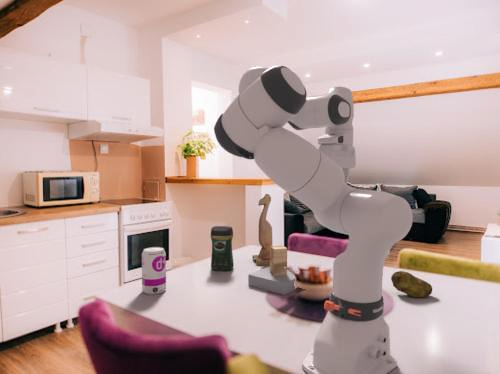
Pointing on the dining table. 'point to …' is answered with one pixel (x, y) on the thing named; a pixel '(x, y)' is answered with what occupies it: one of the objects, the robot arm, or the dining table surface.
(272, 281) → the grey stand
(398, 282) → the potato
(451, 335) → the dining table surface
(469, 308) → the dining table surface
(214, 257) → the coffee jar
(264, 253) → the bird sculpture
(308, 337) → the dining table surface
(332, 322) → the robot arm
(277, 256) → the oak block
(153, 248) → the supplement can
